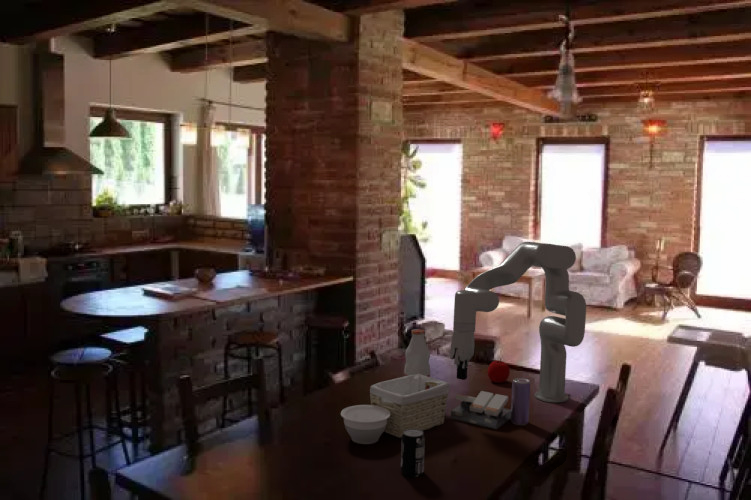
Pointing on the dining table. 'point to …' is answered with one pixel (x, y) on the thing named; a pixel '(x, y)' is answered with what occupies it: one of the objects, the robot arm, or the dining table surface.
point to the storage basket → (411, 402)
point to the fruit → (498, 371)
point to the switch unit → (479, 416)
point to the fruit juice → (417, 355)
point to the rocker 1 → (465, 398)
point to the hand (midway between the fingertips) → (461, 378)
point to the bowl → (365, 422)
